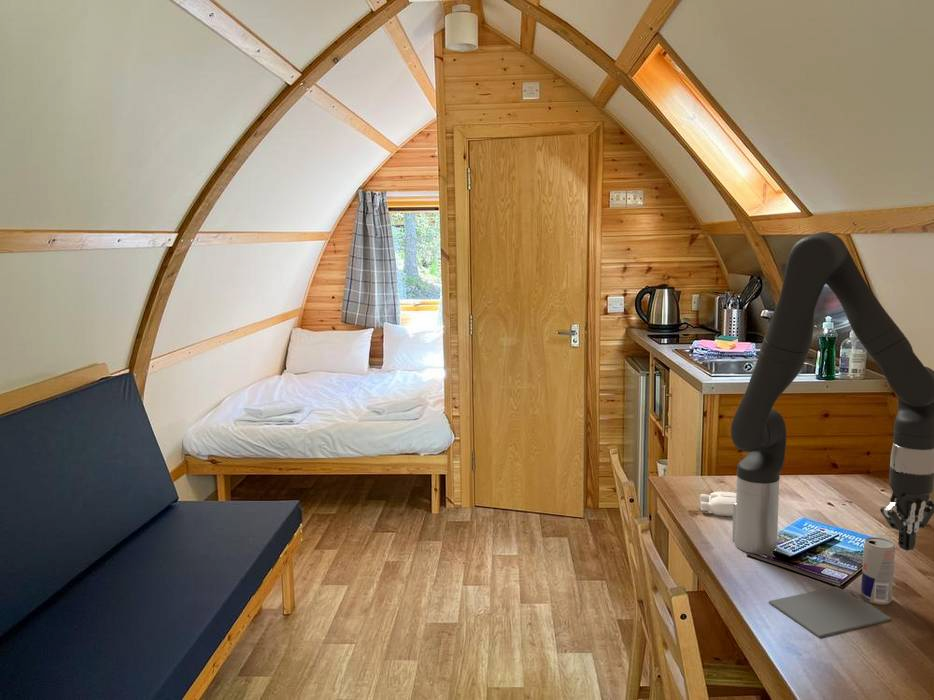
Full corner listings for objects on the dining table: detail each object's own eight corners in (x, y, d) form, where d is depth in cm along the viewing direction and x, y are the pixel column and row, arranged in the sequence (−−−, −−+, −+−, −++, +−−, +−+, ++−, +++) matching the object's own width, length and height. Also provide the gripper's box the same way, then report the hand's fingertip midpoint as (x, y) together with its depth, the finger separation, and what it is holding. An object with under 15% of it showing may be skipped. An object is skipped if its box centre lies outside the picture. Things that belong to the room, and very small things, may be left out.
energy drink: (863, 589, 142) (866, 534, 141) (893, 597, 139) (897, 541, 137) (858, 600, 138) (861, 544, 136) (889, 608, 135) (893, 550, 133)
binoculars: (766, 522, 177) (766, 505, 177) (700, 516, 182) (701, 500, 182) (762, 507, 187) (762, 490, 187) (700, 502, 192) (700, 486, 191)
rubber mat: (768, 603, 138) (768, 601, 138) (836, 588, 143) (836, 586, 143) (818, 637, 126) (818, 635, 126) (890, 620, 131) (891, 618, 131)
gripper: (920, 457, 142) (914, 536, 145) (870, 465, 138) (865, 546, 141) (955, 468, 135) (948, 551, 138) (903, 477, 131) (897, 562, 134)
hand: (906, 548), depth 139 cm, fingers closed
